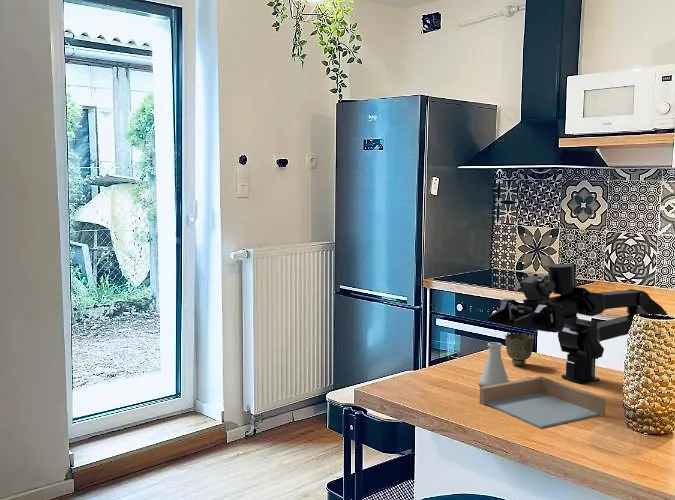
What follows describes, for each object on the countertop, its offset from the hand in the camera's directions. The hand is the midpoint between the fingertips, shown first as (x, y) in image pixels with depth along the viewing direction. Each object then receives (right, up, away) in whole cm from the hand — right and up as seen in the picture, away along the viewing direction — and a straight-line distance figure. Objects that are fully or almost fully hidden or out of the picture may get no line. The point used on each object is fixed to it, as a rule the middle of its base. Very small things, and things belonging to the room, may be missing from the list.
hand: (500, 321), depth 144 cm
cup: (+11, -15, +26) cm, 32 cm away
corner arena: (+6, -18, -9) cm, 21 cm away
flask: (0, -16, +8) cm, 18 cm away
